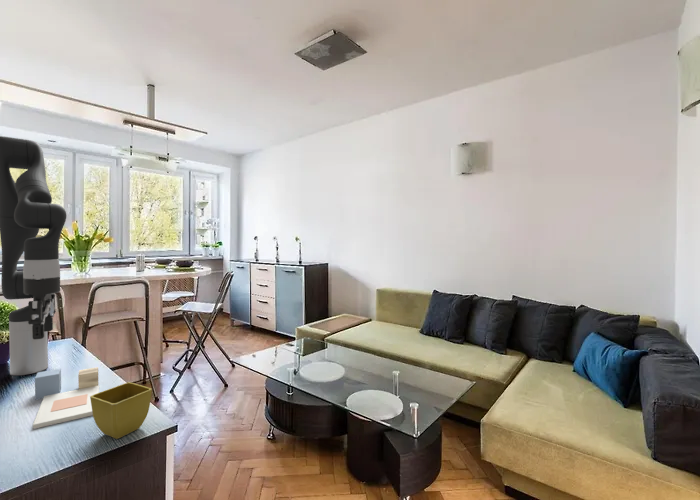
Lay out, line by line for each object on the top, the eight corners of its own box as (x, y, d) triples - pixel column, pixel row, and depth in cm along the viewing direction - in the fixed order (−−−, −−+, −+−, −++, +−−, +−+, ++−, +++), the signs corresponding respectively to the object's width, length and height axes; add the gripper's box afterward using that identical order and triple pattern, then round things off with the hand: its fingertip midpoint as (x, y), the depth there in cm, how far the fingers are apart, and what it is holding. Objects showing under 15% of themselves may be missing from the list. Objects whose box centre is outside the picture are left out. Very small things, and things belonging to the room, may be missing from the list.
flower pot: (153, 426, 79) (153, 388, 79) (114, 447, 71) (113, 404, 71) (129, 418, 83) (129, 381, 83) (89, 436, 75) (88, 396, 75)
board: (44, 399, 93) (44, 395, 93) (99, 388, 100) (99, 385, 100) (33, 429, 78) (33, 424, 78) (98, 413, 85) (98, 409, 85)
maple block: (79, 387, 101) (79, 370, 101) (98, 383, 104) (98, 367, 104) (78, 392, 97) (78, 374, 97) (98, 388, 100) (98, 371, 100)
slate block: (38, 393, 97) (37, 372, 97) (61, 389, 100) (60, 368, 100) (35, 400, 93) (34, 378, 93) (59, 395, 96) (59, 373, 96)
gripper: (32, 274, 98) (33, 330, 98) (14, 279, 86) (15, 343, 86) (65, 273, 102) (66, 327, 102) (53, 278, 89) (54, 339, 90)
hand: (43, 334), depth 94 cm, fingers open, 8 cm apart
